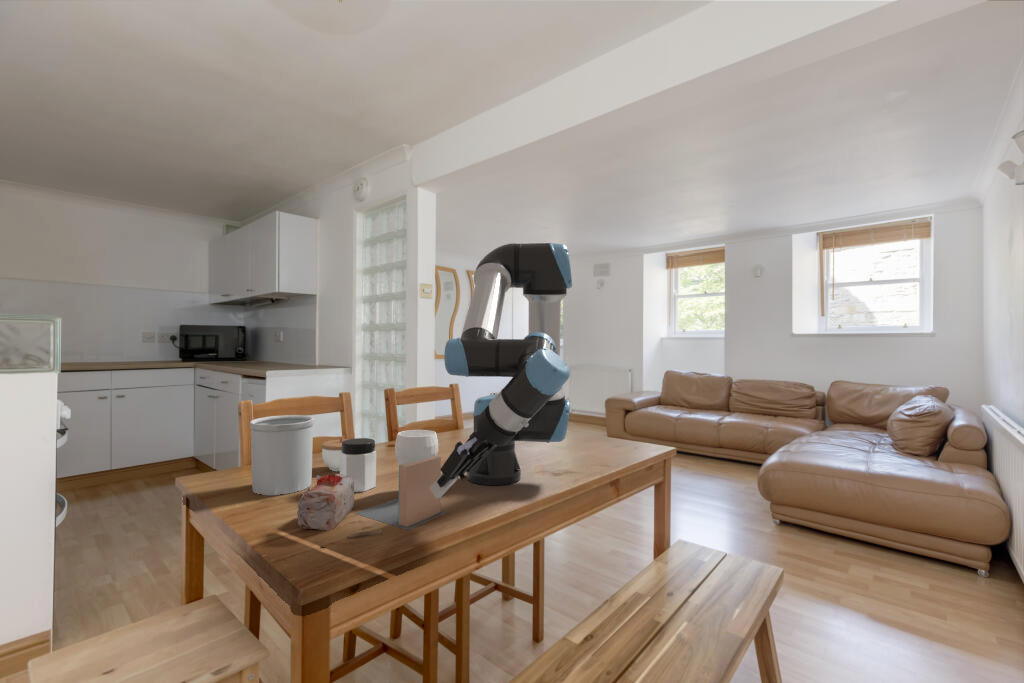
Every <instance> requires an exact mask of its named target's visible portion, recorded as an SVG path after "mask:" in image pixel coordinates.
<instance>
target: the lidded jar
mask: <svg viewBox="0 0 1024 683" xmlns="http://www.w3.org/2000/svg"><path fill="white" fill-rule="evenodd" d="M348 439H349V438H344V436H339V439H331V440H327V441H323V442H322V443H321V456H322V460H323V463H324V465H325V466H326V467H327V468H329V471H331V470H332V471H331V472H340V452H341V451H342V442H343V441H345V440H348Z"/></svg>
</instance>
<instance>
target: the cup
mask: <svg viewBox="0 0 1024 683" xmlns="http://www.w3.org/2000/svg"><path fill="white" fill-rule="evenodd" d="M438 453H439V440H438V437H437V432H436V431H434V430H429V429H409V430H403V431H400V432H398V433H397V434H396V438H395V442H394V455H395V457H396V462H397V464H398V466H399V465H401V464H404V463H408V462H412V461H415V460H419V459H422V458H426V457H430V456H437V457H438Z"/></svg>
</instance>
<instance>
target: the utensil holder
mask: <svg viewBox="0 0 1024 683" xmlns="http://www.w3.org/2000/svg"><path fill="white" fill-rule="evenodd" d="M314 424H315V418H314V417H313V416H311V415H304V414H303V415H301V414H300V415H299V414H285V415H273V416H271V415H270V416H265V417H259V418H255V419H252V420H250V421H249V428H250V443H251V444H250V449H251V453H250V455H251V459H250V460H251V487H252V492H253V493H254V494H256V493H257V494H256V495H259V494H262V495H261V496H281V495H280V494H284V495H289V493H290V494H294V492H295V493H298V492H301V491H305V489H306V490H307V489H308V488H310V487H311V485H312V478H313V477H312V476H313V474H312V473H313V472H312V471H313V443H314V442H313V439H314V437H313V436H314ZM297 491H298V492H297Z"/></svg>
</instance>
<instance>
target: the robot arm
mask: <svg viewBox="0 0 1024 683" xmlns="http://www.w3.org/2000/svg"><path fill="white" fill-rule="evenodd" d="M572 279H573V278H572V268H571V259H570V253H569V248H568V246H566V244H563V243H553V242H545V243H544V242H542V243H541V242H539V243H536V242H535V243H533V242H532V243H529V242H528V243H506V244H503V245H501V246H497V247H496V248H494V249H493V250H491V251H490V252H488V253H487V254H486V255H485V256H484V257H483V258H482V259H481V260H480V261H479V263H478V264H477V266H476V268H475V271H474V274H473V284H474V289H473V292H472V297H471V299H470V303H469V307H468V310H467V314H466V317H465V320H464V326H463V327H462V331H461V334H460V337H457V338H449V339H448V340H447V341H446V343H445V347H444V354H443V355H444V367H445V371H446V372H447V374H448V375H451V376H460V377H466V378H469V377H482V378H483V377H485V378H486V377H491V378H492V377H494V378H495V377H500V378H501V377H502V378H503V377H504V378H511V379H510V380H509V381H508V383H506V385H505V386H504V387H503V388H501V390H500V391H499V392H498V393H496V394H490V395H489V394H488V395H486V396H485V395H484V396H481V397H480V396H479V397H478V398H477V399H476V400H475V401H474V405H473V414H472V416H473V432H472V433H471V434H470V435H469V437H468V438H467V440H466V441H465V442H464V443H463V442H462V441H458V442H456V444H455V445H454V449H453V451H451V453H450V455H449V456H448V458H447V459H446V461H445V462H444V463H443V464H442V465H441V469H440V470H441V475H440V476H439V478H438V479H437V480H436V481H435V482H434V483H433V484H432V485H431V486H430V487H429V488H430V490H431V492H432V493H433V495H434V496H435V498H436V499H437V498H440V499H441V497H442V496H443V495H445V493H446V492H447V491H448V490H449V489H450V488H451V486H453V485H454V484H455V482H457V481H458V480H459V478H460V479H461V480H465V479H467V481H469V482H470V483H473V484H478V485H485V486H504V484H505V485H509V484H510V483H511V484H514V483H517V482H519V481H520V480H521V474H522V472H521V467H520V464H519V460H518V457H517V454H516V448H515V447H516V442H531V443H532V442H533V443H534V442H537V443H549V444H550V443H560V442H563V441H564V440H565V438H566V436H567V432H568V427H569V421H570V409H571V402H570V400H569V399H566V394H565V392H564V391H563V390H562V388H563V386H564V385H565V384H566V383H567V381H568V380H569V378H570V377H571V376H570V375H571V371H570V369H569V367H568V366H567V362H565V360H564V359H563V358H562V357H561V318H562V317H561V310H562V309H561V304H562V303H561V302H562V300H563V299H564V298H565V297H566V296H567V294H568V293H567V291H568V290H567V289H571V288H572V287H573V280H572ZM511 288H512V289H513V288H516V289H522V296H524V298H526V300H527V301H528V335H526V336H525V337H523V338H522V339H521V338H520V339H519V338H518V339H517V338H516V339H515V338H509V339H508V338H504V339H503V338H498V337H499V336H498V335H499V330H500V324H501V319H502V318H501V317H502V313H503V307H504V302H505V296H506V293H507V292H508V291H509V289H511ZM465 473H466V475H465ZM518 480H519V481H518ZM516 481H517V482H516Z"/></svg>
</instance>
